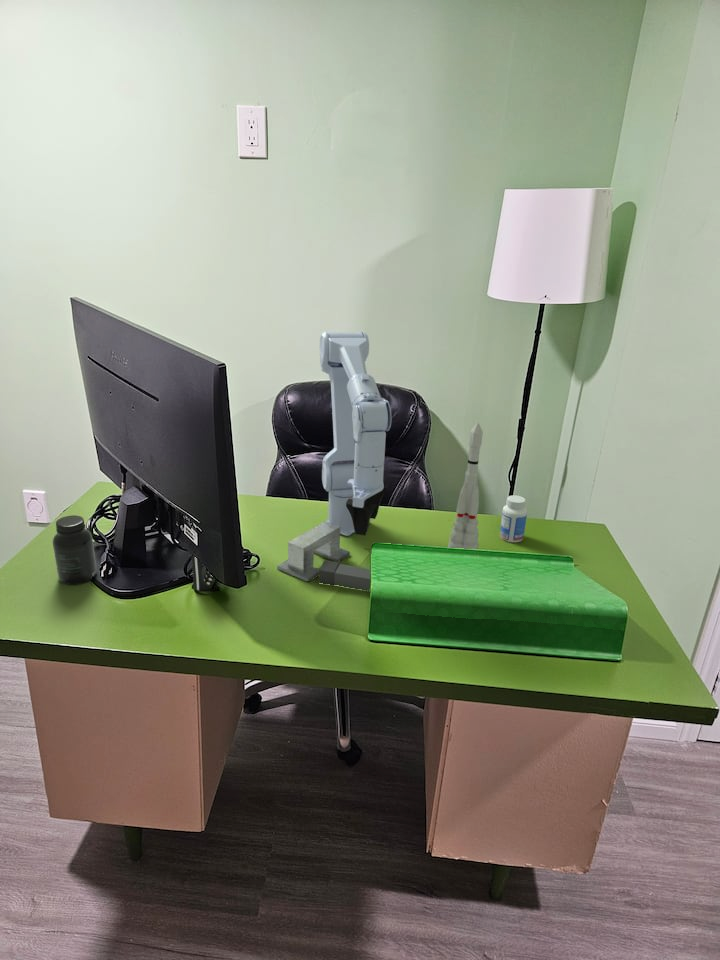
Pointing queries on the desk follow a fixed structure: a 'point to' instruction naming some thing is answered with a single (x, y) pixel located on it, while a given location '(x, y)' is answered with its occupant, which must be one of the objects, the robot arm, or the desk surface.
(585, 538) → the desk surface
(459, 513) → the rocket model
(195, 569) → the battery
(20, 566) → the desk surface
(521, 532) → the pill bottle
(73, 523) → the supplement bottle
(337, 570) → the plug
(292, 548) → the mounting bracket
